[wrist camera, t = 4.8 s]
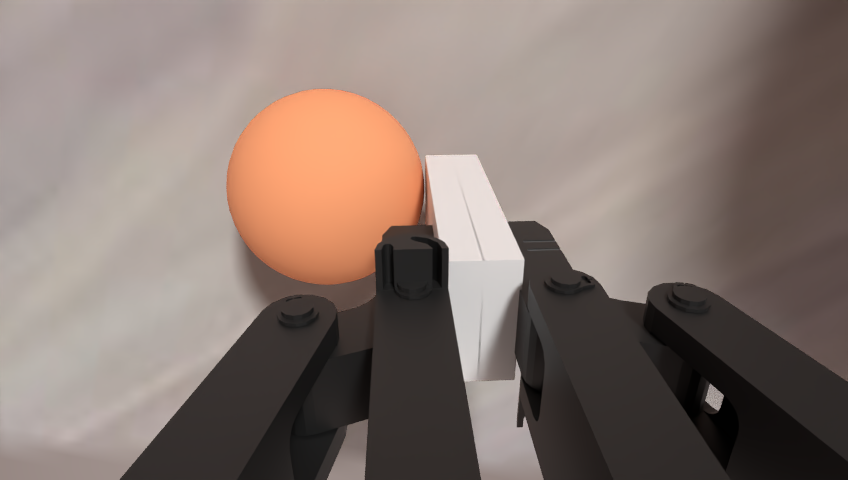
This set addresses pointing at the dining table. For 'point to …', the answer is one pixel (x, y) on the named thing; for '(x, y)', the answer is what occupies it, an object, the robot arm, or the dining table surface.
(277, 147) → the ball
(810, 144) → the dining table surface
